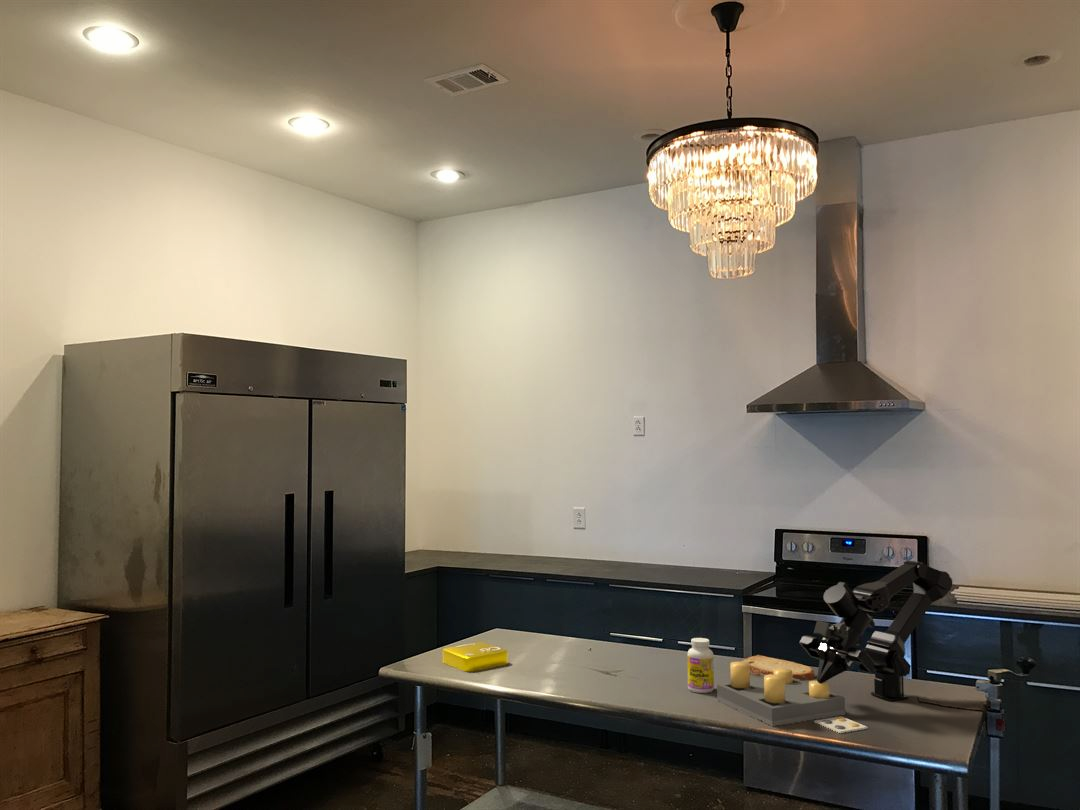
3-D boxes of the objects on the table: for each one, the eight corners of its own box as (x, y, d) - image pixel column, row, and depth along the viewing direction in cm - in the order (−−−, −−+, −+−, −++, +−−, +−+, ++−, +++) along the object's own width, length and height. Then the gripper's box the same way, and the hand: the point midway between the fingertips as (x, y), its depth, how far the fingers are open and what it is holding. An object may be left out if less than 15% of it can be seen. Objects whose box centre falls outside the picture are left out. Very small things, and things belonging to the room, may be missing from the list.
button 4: (820, 701, 198) (819, 679, 198) (834, 707, 193) (833, 684, 194) (805, 704, 196) (804, 681, 196) (818, 709, 192) (818, 686, 192)
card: (841, 718, 190) (841, 715, 190) (867, 728, 183) (867, 726, 183) (814, 722, 187) (814, 720, 187) (839, 733, 180) (839, 731, 180)
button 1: (742, 682, 205) (741, 660, 205) (753, 686, 200) (753, 665, 201) (726, 684, 203) (726, 662, 203) (738, 689, 199) (737, 667, 199)
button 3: (784, 688, 210) (784, 667, 210) (796, 693, 205) (796, 671, 206) (770, 690, 208) (769, 669, 208) (781, 695, 204) (781, 673, 204)
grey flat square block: (785, 690, 212) (785, 675, 212) (845, 714, 192) (844, 697, 193) (717, 700, 204) (717, 684, 204) (772, 726, 184) (771, 708, 184)
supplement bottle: (685, 692, 211) (684, 641, 212) (690, 685, 217) (689, 636, 218) (711, 694, 209) (710, 643, 209) (715, 687, 215) (715, 638, 216)
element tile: (482, 655, 252) (482, 639, 252) (510, 665, 240) (510, 648, 240) (439, 663, 243) (439, 646, 243) (467, 674, 231) (467, 656, 231)
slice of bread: (821, 680, 223) (820, 666, 223) (759, 684, 219) (759, 670, 219) (788, 663, 240) (787, 650, 241) (730, 667, 237) (730, 653, 237)
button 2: (776, 696, 193) (775, 673, 193) (789, 701, 188) (788, 678, 189) (760, 698, 191) (759, 675, 191) (773, 704, 187) (772, 680, 187)
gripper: (803, 602, 207) (772, 652, 201) (865, 615, 190) (832, 669, 184) (826, 630, 210) (796, 680, 204) (888, 645, 194) (857, 700, 188)
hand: (818, 682), depth 195 cm, fingers closed, pressing on button 4
